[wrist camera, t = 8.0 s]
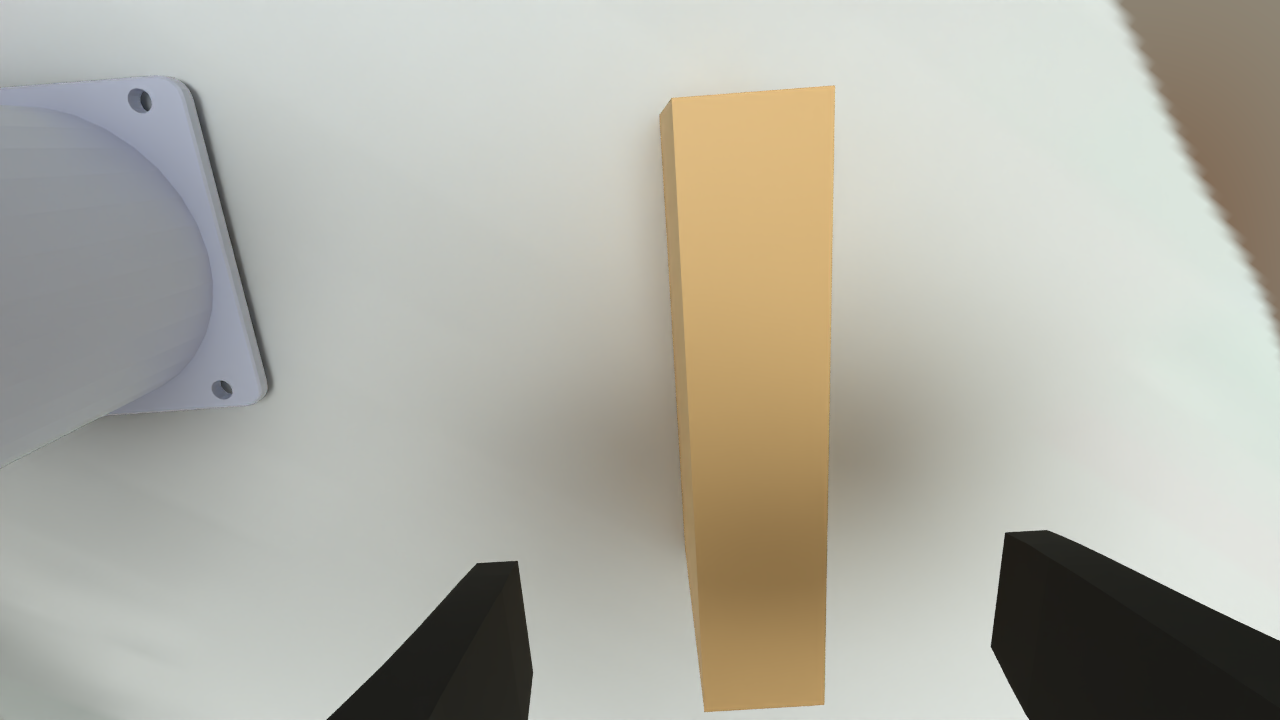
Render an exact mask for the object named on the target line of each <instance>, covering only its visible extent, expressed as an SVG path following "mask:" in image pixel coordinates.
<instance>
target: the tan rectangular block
mask: <svg viewBox="0 0 1280 720" xmlns="http://www.w3.org/2000/svg"><path fill="white" fill-rule="evenodd" d="M834 115H835V86H822V87H809V88H796V89H783V90H770V91H757V92H744V93H731V94H718V95H705V96H692V97H679V98H671V100H670V101H669V103H668V104H667V105H666V107H665V108H664V109H663V111H662V112H661V114H660V132H661V149H662V165H663V182H664V199H665V216H666V233H667V250H668V267H669V284H670V301H671V318H672V335H673V352H674V369H675V386H676V402H677V419H678V436H679V453H680V470H681V487H682V504H683V521H684V538H685V552H686V560H687V569H688V577H689V586H690V594H691V602H692V611H693V619H694V628H695V636H696V645H697V653H698V661H699V670H700V678H701V687H702V695H703V703H704V712H713V711H730V710H747V709H763V708H780V707H797V706H813V705H824V694H825V636H826V578H827V520H828V462H829V404H830V347H831V288H832V231H833V173H834Z"/></svg>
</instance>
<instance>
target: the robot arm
mask: <svg viewBox="0 0 1280 720" xmlns="http://www.w3.org/2000/svg"><path fill="white" fill-rule="evenodd" d="M143 91H145V92H147V93H148V94H149V96H150V98H151V101H152V107H151V108H150V110H149V111H148V112H147V111H146V110H145V109H144V108H143V106H142V105H141V102H140V96H141V94H142V93H143ZM221 381H225V382H227V383H228V384H229V385H230V386H231V388H232V394H229V393H227V392H226V391H224V390H223V388H222V387H221ZM267 390H268V387H267V380H266V376H265V372H264V368H263V364H262V360H261V357H260V353H259V349H258V345H257V341H256V337H255V334H254V330H253V326H252V322H251V318H250V314H249V311H248V307H247V303H246V299H245V295H244V291H243V288H242V284H241V280H240V276H239V272H238V268H237V265H236V261H235V257H234V253H233V249H232V245H231V242H230V238H229V234H228V230H227V226H226V222H225V219H224V215H223V211H222V207H221V203H220V199H219V196H218V192H217V188H216V184H215V180H214V176H213V173H212V169H211V165H210V161H209V157H208V153H207V150H206V146H205V142H204V138H203V134H202V130H201V127H200V123H199V119H198V115H197V111H196V107H195V104H194V100H193V97H192V95H191V93H190V90H189V89H188V88H187V87H186V86H185V85H184V83H183V82H181V81H179V80H177V79H175V78H172V77H165V76H157V75H156V76H143V77H130V78H117V79H104V80H91V81H79V82H66V83H53V84H40V85H27V86H15V87H2V88H0V468H2V467H4V466H6V465H8V464H10V463H12V462H14V461H16V460H18V459H19V458H21V457H23V456H25V455H27V454H29V453H31V452H33V451H35V450H37V449H39V448H41V447H43V446H45V445H47V444H49V443H51V442H53V441H55V440H57V439H59V438H61V437H63V436H65V435H67V434H69V433H71V432H73V431H75V430H77V429H79V428H80V427H82V426H84V425H86V424H88V423H90V422H92V421H94V420H96V419H98V418H100V417H102V416H109V415H124V414H138V413H153V412H167V411H181V410H196V409H210V408H224V407H239V406H249V405H252V404H255V403H256V402H258V401H259V400H261V399H262V398H263V397H264V396H265V395H266V392H267ZM991 648H992V650H993V652H994V654H995V656H996V658H997V660H998V662H999V664H1000V666H1001V668H1002V670H1003V672H1004V674H1005V676H1006V678H1007V680H1008V682H1009V684H1010V686H1011V688H1012V690H1013V692H1014V693H1015V695H1016V697H1017V699H1018V701H1019V703H1020V705H1021V706H1022V708H1023V710H1024V712H1025V714H1026V715H1027V717H1028V718H1029V720H1280V641H1279V640H1277V639H1275V638H1272V637H1270V636H1268V635H1266V634H1264V633H1262V632H1259V631H1257V630H1255V629H1253V628H1251V627H1249V626H1247V625H1245V624H1243V623H1240V622H1238V621H1236V620H1234V619H1232V618H1230V617H1228V616H1226V615H1224V614H1222V613H1219V612H1217V611H1215V610H1213V609H1211V608H1209V607H1207V606H1205V605H1203V604H1201V603H1199V602H1197V601H1195V600H1193V599H1191V598H1189V597H1187V596H1185V595H1183V594H1181V593H1178V592H1176V591H1174V590H1172V589H1170V588H1168V587H1166V586H1164V585H1162V584H1160V583H1158V582H1156V581H1154V580H1152V579H1150V578H1148V577H1146V576H1144V575H1142V574H1140V573H1138V572H1136V571H1134V570H1132V569H1130V568H1128V567H1126V566H1124V565H1122V564H1120V563H1118V562H1116V561H1114V560H1112V559H1110V558H1108V557H1106V556H1104V555H1102V554H1100V553H1098V552H1095V551H1093V550H1091V549H1089V548H1087V547H1085V546H1083V545H1081V544H1079V543H1076V542H1074V541H1072V540H1070V539H1067V538H1065V537H1063V536H1060V535H1058V534H1055V533H1053V532H1051V531H1048V530H1040V531H1023V532H1006V533H1005V538H1004V546H1003V554H1002V562H1001V570H1000V578H999V586H998V594H997V602H996V610H995V617H994V625H993V633H992V641H991ZM532 677H533V669H532V661H531V654H530V647H529V640H528V632H527V625H526V618H525V611H524V603H523V596H522V589H521V582H520V574H519V567H518V561H508V562H491V563H477V564H476V565H475V566H474V567H473V568H472V569H471V570H470V571H469V572H468V573H467V574H466V576H465V577H464V578H463V579H462V580H461V581H460V582H459V583H458V584H457V585H456V586H455V587H454V589H453V590H452V591H451V592H450V593H449V594H448V595H447V596H446V598H445V599H444V600H443V601H442V602H441V603H440V604H439V605H438V606H437V608H436V609H435V610H434V611H433V612H432V613H431V614H430V615H429V616H428V617H427V619H426V620H425V621H424V622H423V623H422V624H421V625H420V626H419V627H418V628H417V629H416V631H415V632H414V633H413V634H412V635H411V636H410V637H409V638H408V639H407V640H406V641H405V642H404V643H403V644H402V645H401V646H400V648H399V649H398V650H397V651H396V652H395V653H394V654H393V655H392V656H391V657H390V658H389V659H388V660H387V661H386V662H385V663H384V664H383V665H382V666H381V667H380V668H379V669H378V670H377V671H376V672H375V673H374V674H373V675H372V676H371V677H370V678H369V679H368V680H367V681H366V682H365V683H364V684H363V685H362V686H361V687H360V688H359V689H358V690H357V691H356V692H355V693H354V694H353V695H352V696H351V697H350V698H349V699H348V700H347V701H346V702H344V703H343V704H342V705H341V706H340V707H339V708H338V709H337V710H336V711H335V712H334V713H333V714H332V715H331V716H330V717H329V718H328V719H327V720H528V713H529V705H530V696H531V686H532Z"/></svg>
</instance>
